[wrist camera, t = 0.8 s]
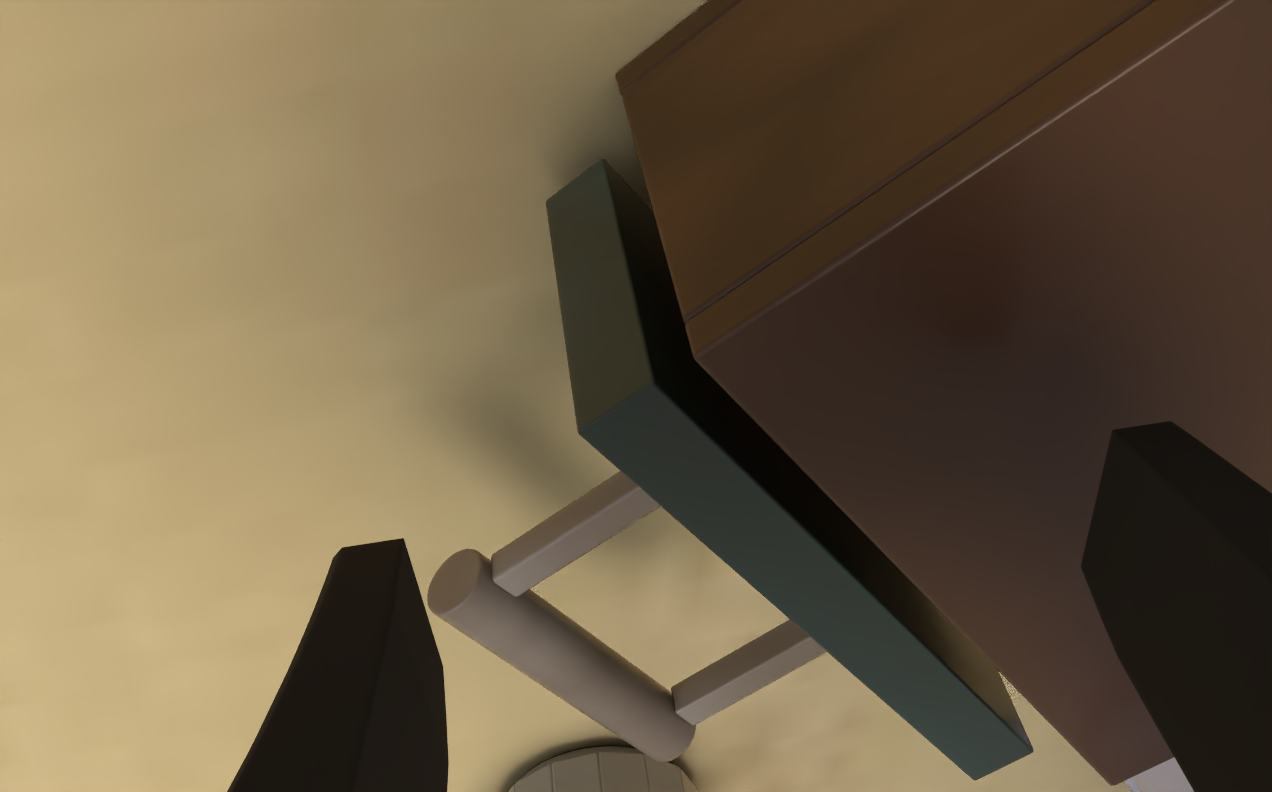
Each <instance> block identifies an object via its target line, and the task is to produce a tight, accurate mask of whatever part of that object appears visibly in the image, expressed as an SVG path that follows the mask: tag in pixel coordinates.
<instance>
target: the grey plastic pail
mask: <svg viewBox="0 0 1272 792" xmlns="http://www.w3.org/2000/svg"><path fill="white" fill-rule="evenodd" d="M508 792H698V790H697V788H696V787H695V786H694V784H693V783H692V782H691V781H690V779H689V778H688V777H687V776H686V775H685V773H684V772H683V771H682V770H681V768H679V767H678V766H676V765H674V764H671V763H668V762H658V761H655V760H653V759H651V758H650V757H648V756H647V755H645V754H644V753H642V752H641V751H639V750H638V749H634V748H628V747H615V746H605V747H592V748H586V749H580V750H576V751H571V752H568V753H565V754H561V755H559V756H556V757H554V758H551V759H549V760H547V761H545V762H543V763H541V764H539V765H538V766H536V767H534V768H533V769H531V770H530V771H529V772H528V773H526V774H525V775H524V776H523V777H522V778H521V779H520V780H519V781H518V782H516V783H515V784H514V785H513V786H512V787H511V789H510V790H509V791H508Z"/></svg>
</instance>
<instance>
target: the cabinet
mask: <svg viewBox="0 0 1272 792" xmlns="http://www.w3.org/2000/svg"><path fill="white" fill-rule="evenodd" d="M616 79H617V83H618V86H619V90H620V93H621V95H622V99H623V102H624V106H625V109H626V113H627V117H628V120H629V124H630V128H631V131H632V135H633V139H634V142H635V146H636V150H637V153H638V157H639V160H640V164H641V168H642V171H643V175H644V179H645V182H646V186H647V190H648V193H649V197H650V201H651V204H652V208H653V211H654V215H655V219H656V222H657V226H658V230H659V233H660V237H661V241H662V244H663V248H664V252H665V255H666V259H667V262H668V266H669V270H670V273H671V277H672V281H673V284H674V288H675V292H676V295H677V299H678V303H679V306H680V310H681V313H682V317H683V321H684V323H685V324H686V325H685V328H686V332H687V335H688V339H689V343H690V346H691V350H692V353H693V357H694V359H695V360H696V361H697V362H698V363H699V365H700V366H701V367H702V368H703V369H704V370H705V371H706V372H707V373H708V374H709V375H710V376H711V377H712V378H713V379H714V380H715V381H716V382H717V383H718V384H719V385H720V386H721V387H722V388H723V389H724V390H725V391H726V392H727V393H728V394H729V395H730V396H731V397H732V398H733V399H734V400H735V401H736V402H737V403H738V404H739V405H740V406H741V408H742V409H743V410H744V411H745V412H746V413H747V414H748V415H749V416H750V417H751V418H752V419H753V420H754V421H755V422H756V423H757V424H758V425H759V426H760V427H761V428H762V429H763V430H764V431H765V432H766V433H767V434H768V435H769V436H770V437H771V438H772V439H773V440H774V441H775V442H776V443H777V444H778V445H779V446H780V447H781V448H782V450H783V451H784V452H785V453H786V454H787V455H788V456H789V457H790V458H791V459H792V460H793V461H794V462H795V463H796V464H797V465H798V466H799V467H800V468H801V469H802V470H803V471H804V472H805V473H806V474H807V475H808V476H809V477H810V478H811V479H812V480H813V481H814V482H815V483H816V484H817V485H818V486H819V487H820V488H821V489H822V490H823V491H824V493H825V494H826V495H827V496H828V497H829V498H830V499H831V500H832V501H833V502H834V503H835V504H836V505H837V506H838V507H839V508H840V509H841V510H842V511H843V512H844V513H845V514H846V515H847V516H848V517H849V518H850V519H851V520H852V521H853V522H854V523H855V524H856V525H857V526H858V527H859V528H860V529H861V530H862V531H863V532H864V533H865V535H866V536H867V537H868V538H869V539H870V540H871V541H872V542H873V543H874V544H875V545H876V546H877V547H878V548H879V549H880V550H881V551H882V552H883V553H884V554H885V555H886V556H887V557H888V558H889V559H890V560H891V561H892V562H893V563H894V564H895V565H896V566H897V567H898V568H899V569H900V570H901V571H902V572H903V573H904V574H905V575H906V577H907V578H908V579H909V580H910V581H911V582H912V583H913V584H914V585H915V586H916V587H917V588H918V589H919V590H920V591H921V592H922V593H923V594H924V595H925V596H926V597H927V598H928V599H929V600H930V601H931V602H932V603H933V604H934V605H935V606H936V607H937V608H938V609H939V610H940V611H941V612H942V613H943V614H944V615H945V616H946V617H947V618H948V620H949V621H950V622H951V623H952V624H953V625H954V626H955V627H956V628H957V629H958V630H959V631H960V632H961V633H962V634H963V635H964V636H965V637H966V638H967V639H968V640H969V641H970V642H971V643H972V644H973V645H974V646H975V647H976V648H977V649H978V650H979V651H980V652H981V653H982V654H983V655H984V656H985V657H986V658H987V659H988V660H989V662H990V663H991V664H992V665H993V666H994V667H995V668H996V669H997V670H998V671H999V672H1000V673H1001V674H1002V675H1003V676H1004V677H1005V678H1006V679H1007V680H1008V681H1009V682H1010V683H1011V684H1012V685H1013V686H1014V687H1015V688H1016V689H1017V690H1018V691H1019V692H1020V693H1021V694H1022V695H1023V696H1024V697H1025V698H1026V699H1027V700H1028V701H1029V702H1030V703H1031V705H1032V706H1033V707H1034V708H1035V709H1036V710H1037V711H1038V712H1039V713H1040V714H1041V715H1042V716H1043V717H1044V718H1045V719H1046V720H1047V721H1048V722H1049V723H1050V724H1051V725H1052V726H1053V727H1054V728H1055V729H1056V730H1057V731H1058V732H1059V733H1060V734H1061V735H1062V736H1063V737H1064V738H1065V739H1066V740H1067V741H1068V742H1069V743H1070V744H1071V745H1072V747H1073V748H1074V749H1075V750H1076V751H1077V752H1078V753H1079V754H1080V755H1081V756H1082V757H1083V758H1084V759H1085V760H1086V761H1087V762H1088V763H1089V764H1090V765H1091V766H1092V767H1093V768H1094V769H1095V770H1096V771H1097V772H1098V773H1099V774H1100V775H1101V776H1102V777H1103V778H1104V779H1105V780H1106V781H1107V782H1108V783H1109V784H1110V785H1112V786H1113V785H1117V784H1119V783H1121V782H1123V781H1125V780H1127V779H1130V778H1132V777H1134V776H1136V775H1138V774H1140V773H1142V772H1144V771H1146V770H1149V769H1151V768H1153V767H1155V766H1157V765H1159V764H1161V763H1163V762H1166V761H1168V760H1170V759H1172V758H1174V756H1173V754H1172V752H1171V751H1170V749H1169V747H1168V745H1167V744H1166V742H1165V740H1164V738H1163V737H1162V735H1161V733H1160V731H1159V730H1158V728H1157V726H1156V724H1155V723H1154V721H1153V719H1152V717H1151V716H1150V714H1149V712H1148V710H1147V708H1146V707H1145V705H1144V703H1143V701H1142V700H1141V698H1140V696H1139V694H1138V693H1137V691H1136V689H1135V687H1134V685H1133V684H1132V682H1131V680H1130V678H1129V677H1128V675H1127V673H1126V671H1125V669H1124V667H1123V666H1122V664H1121V662H1120V660H1119V658H1118V656H1117V655H1116V652H1115V650H1114V648H1113V645H1112V643H1111V640H1110V638H1109V636H1108V633H1107V631H1106V629H1105V626H1104V624H1103V622H1102V619H1101V617H1100V615H1099V612H1098V610H1097V607H1096V604H1095V602H1094V599H1093V597H1092V594H1091V592H1090V589H1089V586H1088V584H1087V581H1086V579H1085V576H1084V574H1083V571H1082V569H1081V562H1082V558H1083V554H1084V549H1085V545H1086V541H1087V537H1088V532H1089V528H1090V524H1091V519H1092V515H1093V511H1094V506H1095V502H1096V498H1097V494H1098V489H1099V485H1100V481H1101V476H1102V472H1103V468H1104V463H1105V459H1106V455H1107V450H1108V446H1109V442H1110V438H1111V433H1112V430H1115V429H1121V428H1128V427H1134V426H1141V425H1147V424H1154V423H1160V422H1167V421H1172V422H1173V423H1175V424H1176V425H1177V426H1179V427H1180V428H1182V429H1183V430H1185V431H1186V432H1188V433H1189V434H1190V435H1192V436H1193V437H1195V438H1196V439H1197V440H1199V441H1200V442H1202V443H1203V444H1204V445H1206V446H1207V447H1209V448H1210V449H1211V450H1213V451H1214V452H1215V453H1217V454H1218V455H1220V456H1221V457H1222V458H1224V459H1225V460H1226V461H1228V462H1229V463H1231V464H1232V465H1233V466H1235V467H1236V468H1237V469H1239V470H1240V471H1241V472H1243V473H1244V474H1246V475H1247V476H1248V477H1250V478H1251V479H1252V480H1254V481H1255V482H1257V483H1258V484H1259V485H1261V486H1262V487H1263V488H1265V489H1266V490H1268V491H1269V492H1270V493H1272V0H710V1H709V2H708V3H706V4H705V5H704V6H702V7H701V8H700V9H699V10H697V11H696V12H695V13H693V14H692V15H691V16H690V17H688V18H687V19H686V20H685V21H683V22H682V23H681V24H679V25H678V26H677V27H676V28H674V29H673V30H672V31H670V32H669V33H668V34H667V35H665V36H664V37H663V38H661V39H660V40H659V41H658V42H656V43H655V44H654V45H653V46H651V47H650V48H649V49H647V50H646V51H645V52H644V53H642V54H641V55H640V56H638V57H637V58H636V59H635V60H633V61H632V62H631V63H630V64H628V65H627V66H626V67H624V68H623V69H622V70H621V71H619V72H618V73H617V74H616Z"/></svg>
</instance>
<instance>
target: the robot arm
mask: <svg viewBox="0 0 1272 792" xmlns="http://www.w3.org/2000/svg"><path fill="white" fill-rule="evenodd" d="M1081 569H1082V571H1083V574H1084V576H1085V579H1086V581H1087V584H1088V586H1089V589H1090V592H1091V594H1092V597H1093V599H1094V602H1095V604H1096V607H1097V610H1098V612H1099V615H1100V617H1101V619H1102V622H1103V624H1104V626H1105V629H1106V631H1107V633H1108V636H1109V638H1110V640H1111V643H1112V645H1113V648H1114V650H1115V652H1116V655H1117V656H1118V658H1119V660H1120V662H1121V664H1122V666H1123V667H1124V669H1125V671H1126V673H1127V675H1128V677H1129V678H1130V680H1131V682H1132V684H1133V685H1134V687H1135V689H1136V691H1137V693H1138V694H1139V696H1140V698H1141V700H1142V701H1143V703H1144V705H1145V707H1146V708H1147V710H1148V712H1149V714H1150V716H1151V717H1152V719H1153V721H1154V723H1155V724H1156V726H1157V728H1158V730H1159V731H1160V733H1161V735H1162V737H1163V738H1164V740H1165V742H1166V744H1167V745H1168V747H1169V749H1170V751H1171V752H1172V754H1173V756H1174V758H1172V759H1170V760H1168V761H1166V762H1163V763H1161V764H1159V765H1157V766H1155V767H1153V768H1151V769H1149V770H1146V771H1144V772H1142V773H1140V774H1138V775H1136V776H1134V777H1132V778H1130V779H1127V780H1125V781H1123V782H1124V783H1125V784H1126V785H1127V786H1128V787H1129V788H1130V789H1131V790H1132V791H1133V792H1272V493H1270V492H1269V491H1268V490H1266V489H1265V488H1263V487H1262V486H1261V485H1259V484H1258V483H1257V482H1255V481H1254V480H1252V479H1251V478H1250V477H1248V476H1247V475H1246V474H1244V473H1243V472H1241V471H1240V470H1239V469H1237V468H1236V467H1235V466H1233V465H1232V464H1231V463H1229V462H1228V461H1226V460H1225V459H1224V458H1222V457H1221V456H1220V455H1218V454H1217V453H1215V452H1214V451H1213V450H1211V449H1210V448H1209V447H1207V446H1206V445H1204V444H1203V443H1202V442H1200V441H1199V440H1197V439H1196V438H1195V437H1193V436H1192V435H1190V434H1189V433H1188V432H1186V431H1185V430H1183V429H1182V428H1180V427H1179V426H1177V425H1176V424H1175V423H1173V422H1172V421H1167V422H1160V423H1154V424H1147V425H1141V426H1134V427H1128V428H1121V429H1115V430H1112V433H1111V438H1110V442H1109V446H1108V450H1107V455H1106V459H1105V463H1104V468H1103V472H1102V476H1101V481H1100V485H1099V489H1098V494H1097V498H1096V502H1095V506H1094V511H1093V515H1092V519H1091V524H1090V528H1089V532H1088V537H1087V541H1086V545H1085V549H1084V554H1083V558H1082V562H1081ZM447 782H448V744H447V724H446V706H445V690H444V674H443V665H442V662H441V659H440V655H439V652H438V649H437V646H436V642H435V639H434V636H433V633H432V629H431V626H430V623H429V620H428V616H427V613H426V610H425V607H424V603H423V600H422V597H421V594H420V590H419V587H418V584H417V580H416V577H415V574H414V571H413V567H412V564H411V561H410V558H409V554H408V551H407V548H406V545H405V541H404V538H402V539H396V540H389V541H382V542H376V543H369V544H363V545H356V546H350V547H343V548H341V550H340V551H339V552H338V553H337V554H336V555H335V556H334V557H333V560H332V563H331V566H330V569H329V571H328V574H327V577H326V580H325V582H324V585H323V588H322V590H321V593H320V595H319V598H318V601H317V603H316V606H315V608H314V611H313V613H312V616H311V618H310V621H309V623H308V625H307V628H306V630H305V633H304V635H303V637H302V639H301V642H300V644H299V646H298V649H297V651H296V653H295V656H294V658H293V660H292V662H291V665H290V667H289V669H288V671H287V674H286V676H285V678H284V680H283V682H282V684H281V686H280V688H279V690H278V692H277V695H276V697H275V699H274V701H273V703H272V705H271V707H270V709H269V711H268V713H267V716H266V718H265V720H264V722H263V724H262V726H261V728H260V730H259V732H258V734H257V736H256V738H255V740H254V742H253V744H252V746H251V748H250V750H249V752H248V754H247V756H246V758H245V760H244V762H243V763H242V765H241V767H240V769H239V771H238V773H237V775H236V776H235V778H234V780H233V782H232V784H231V786H230V787H229V789H228V791H227V792H447Z"/></svg>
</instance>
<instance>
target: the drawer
mask: <svg viewBox="0 0 1272 792" xmlns="http://www.w3.org/2000/svg"><path fill="white" fill-rule="evenodd" d="M546 207H547V215H548V222H549V229H550V236H551V243H552V250H553V258H554V265H555V272H556V279H557V286H558V294H559V301H560V308H561V315H562V322H563V330H564V337H565V344H566V351H567V358H568V365H569V373H570V380H571V387H572V394H573V401H574V409H575V416H576V423H577V430H578V433H579V435H581V436H582V437H583V438H584V439H585V440H586V441H587V442H589V443H590V444H591V445H592V446H593V447H594V448H595V449H597V450H598V451H599V452H600V453H601V454H602V455H603V456H605V457H606V458H607V459H608V460H609V461H610V462H611V463H612V464H614V465H615V466H616V467H617V468H618V469H619V470H620V472H618V473H617V474H615V475H614V476H612V477H611V478H609V479H608V480H606V481H605V482H603V483H601V484H600V485H598V486H597V487H595V488H594V489H592V490H591V491H589V492H588V493H586V494H585V495H583V496H582V497H580V498H578V499H577V500H575V501H574V502H572V503H571V504H569V505H568V506H566V507H565V508H563V509H562V510H560V511H558V512H557V513H555V514H554V515H552V516H551V517H549V518H548V519H546V520H545V521H543V522H542V523H540V524H539V525H537V526H535V527H534V528H532V529H531V530H529V531H528V532H526V533H525V534H523V535H522V536H520V537H519V538H517V539H515V540H514V541H512V542H511V543H509V544H508V545H506V546H505V547H503V548H502V549H500V550H499V551H497V552H496V553H494V554H493V555H492V557H491V560H489V559H488V558H486V557H485V556H484V555H482V554H481V553H480V552H478V551H476V550H473V549H464V550H461V551H459V552H457V553H455V554H453V555H452V556H451V557H449V558H448V559H447V560H446V561H445V562H444V563H443V564H442V565H441V566H440V568H439V569H438V570H437V572H436V574H435V575H434V577H433V579H432V581H431V583H430V586H429V590H428V595H427V602H428V606H429V608H430V610H431V611H432V613H434V614H435V615H436V616H438V617H439V618H441V619H442V620H444V621H445V622H447V623H448V624H450V625H451V626H453V627H454V628H456V629H457V630H459V631H460V632H462V633H463V634H465V635H466V636H468V637H469V638H471V639H472V640H474V641H476V642H477V643H479V644H480V645H482V646H483V647H485V648H486V649H488V650H489V651H491V652H492V653H494V654H495V655H497V656H498V657H500V658H501V659H503V660H504V661H506V662H507V663H509V664H510V665H512V666H513V667H515V668H516V669H518V670H519V671H521V672H522V673H524V674H525V675H527V676H528V677H530V678H531V679H533V680H534V681H536V682H537V683H539V684H540V685H542V686H543V687H545V688H546V689H548V690H549V691H551V692H552V693H554V694H555V695H557V696H558V697H560V698H561V699H563V700H564V701H566V702H567V703H569V704H570V705H572V706H573V707H575V708H576V709H578V710H579V711H581V712H582V713H584V714H585V715H587V716H588V717H590V718H591V719H593V720H594V721H596V722H597V723H599V724H600V725H602V726H603V727H605V728H606V729H608V730H609V731H611V732H612V733H614V734H615V735H617V736H618V737H620V738H621V739H623V740H624V741H626V742H627V743H629V744H630V745H632V746H633V747H635V748H636V749H638V750H639V751H641V752H642V753H644V754H645V755H647V756H648V757H650V758H651V759H653V760H655V761H658V762H667V761H671V760H674V759H676V758H677V757H679V756H680V755H681V754H682V753H683V752H685V750H686V749H687V748H688V746H689V745H690V743H691V742H692V739H693V737H694V734H695V730H696V724H698V723H700V722H701V721H703V720H705V719H707V718H709V717H710V716H712V715H714V714H716V713H718V712H719V711H721V710H723V709H725V708H727V707H728V706H730V705H732V704H734V703H736V702H737V701H739V700H741V699H743V698H745V697H746V696H748V695H750V694H752V693H754V692H755V691H757V690H759V689H761V688H763V687H764V686H766V685H768V684H770V683H772V682H773V681H775V680H777V679H779V678H781V677H782V676H784V675H786V674H788V673H790V672H792V671H793V670H795V669H797V668H799V667H801V666H802V665H804V664H806V663H808V662H810V661H811V660H813V659H815V658H817V657H819V656H820V655H822V654H824V653H826V652H828V653H829V654H830V655H832V656H833V657H834V658H835V659H836V660H837V661H838V662H840V663H841V664H842V665H843V666H844V667H845V668H846V669H848V670H849V671H850V672H851V673H852V674H853V675H854V676H856V677H857V678H858V679H859V680H860V681H861V682H862V683H864V684H865V685H866V686H867V687H868V688H869V689H870V690H872V691H873V692H874V693H875V694H876V695H877V696H878V697H879V698H881V699H882V700H883V701H884V702H885V703H886V704H887V705H889V706H890V707H891V708H892V709H893V710H894V711H895V712H897V713H898V714H899V715H900V716H901V717H902V718H903V719H905V720H906V721H907V722H908V723H909V724H910V725H911V726H913V727H914V728H915V729H916V730H917V731H918V732H919V733H921V734H922V735H923V736H924V737H925V738H926V739H927V740H929V741H930V742H931V743H932V744H933V745H934V746H935V747H937V748H938V749H939V750H940V751H941V752H942V753H943V754H945V755H946V756H947V757H948V758H949V759H950V760H951V761H953V762H954V763H955V764H956V765H957V766H958V767H959V768H961V769H962V770H963V771H964V772H965V773H966V774H967V775H968V776H970V777H971V778H972V779H973V780H978V779H980V778H982V777H984V776H986V775H988V774H990V773H992V772H994V771H996V770H998V769H1000V768H1002V767H1004V766H1006V765H1008V764H1010V763H1013V762H1015V761H1017V760H1019V759H1021V758H1023V757H1025V756H1027V755H1029V754H1031V753H1032V752H1033V747H1032V745H1031V743H1030V741H1029V738H1028V736H1027V734H1026V732H1025V730H1024V727H1023V725H1022V723H1021V721H1020V718H1019V716H1018V714H1017V712H1016V710H1015V707H1014V705H1013V703H1012V701H1011V698H1010V696H1009V694H1008V692H1007V690H1006V687H1005V685H1004V683H1003V681H1002V679H1001V676H1000V674H999V672H998V670H997V669H996V668H995V667H994V666H993V665H992V664H991V663H990V662H989V660H988V659H987V658H986V657H985V656H984V655H983V654H982V653H981V652H980V651H979V650H978V649H977V648H976V647H975V646H974V645H973V644H972V643H971V642H970V641H969V640H968V639H967V638H966V637H965V636H964V635H963V634H962V633H961V632H960V631H959V630H958V629H957V628H956V627H955V626H954V625H953V624H952V623H951V622H950V621H949V620H948V618H947V617H946V616H945V615H944V614H943V613H942V612H941V611H940V610H939V609H938V608H937V607H936V606H935V605H934V604H933V603H932V602H931V601H930V600H929V599H928V598H927V597H926V596H925V595H924V594H923V593H922V592H921V591H920V590H919V589H918V588H917V587H916V586H915V585H914V584H913V583H912V582H911V581H910V580H909V579H908V578H907V577H906V575H905V574H904V573H903V572H902V571H901V570H900V569H899V568H898V567H897V566H896V565H895V564H894V563H893V562H892V561H891V560H890V559H889V558H888V557H887V556H886V555H885V554H884V553H883V552H882V551H881V550H880V549H879V548H878V547H877V546H876V545H875V544H874V543H873V542H872V541H871V540H870V539H869V538H868V537H867V536H866V535H865V533H864V532H863V531H862V530H861V529H860V528H859V527H858V526H857V525H856V524H855V523H854V522H853V521H852V520H851V519H850V518H849V517H848V516H847V515H846V514H845V513H844V512H843V511H842V510H841V509H840V508H839V507H838V506H837V505H836V504H835V503H834V502H833V501H832V500H831V499H830V498H829V497H828V496H827V495H826V494H825V493H824V491H823V490H822V489H821V488H820V487H819V486H818V485H817V484H816V483H815V482H814V481H813V480H812V479H811V478H810V477H809V476H808V475H807V474H806V473H805V472H804V471H803V470H802V469H801V468H800V467H799V466H798V465H797V464H796V463H795V462H794V461H793V460H792V459H791V458H790V457H789V456H788V455H787V454H786V453H785V452H784V451H783V450H782V448H781V447H780V446H779V445H778V444H777V443H776V442H775V441H774V440H773V439H772V438H771V437H770V436H769V435H768V434H767V433H766V432H765V431H764V430H763V429H762V428H761V427H760V426H759V425H758V424H757V423H756V422H755V421H754V420H753V419H752V418H751V417H750V416H749V415H748V414H747V413H746V412H745V411H744V410H743V409H742V408H741V406H740V405H739V404H738V403H737V402H736V401H735V400H734V399H733V398H732V397H731V396H730V395H729V394H728V393H727V392H726V391H725V390H724V389H723V388H722V387H721V386H720V385H719V384H718V383H717V382H716V381H715V380H714V379H713V378H712V377H711V376H710V375H709V374H708V373H707V372H706V371H705V370H704V369H703V368H702V367H701V366H700V365H699V363H698V362H697V361H696V360H695V359H694V357H693V353H692V350H691V346H690V343H689V339H688V335H687V332H686V328H685V325H686V324H685V323H684V321H683V317H682V313H681V310H680V306H679V303H678V299H677V295H676V292H675V288H674V284H673V281H672V277H671V273H670V270H669V266H668V262H667V259H666V255H665V252H664V248H663V244H662V241H661V237H660V233H659V230H658V226H657V222H656V219H655V215H654V213H653V212H652V211H651V210H650V209H649V208H648V206H647V205H646V204H645V203H644V202H643V201H642V200H641V199H640V198H639V196H638V195H637V194H636V193H635V192H634V191H633V190H632V189H631V188H630V187H629V185H628V184H627V183H626V182H625V181H624V180H623V179H622V178H621V177H620V175H619V174H618V173H617V172H616V171H615V170H614V169H613V168H612V167H611V165H610V164H609V163H608V162H607V161H606V160H605V159H600V160H599V161H598V162H596V163H595V164H594V165H593V166H591V167H590V168H589V169H587V170H586V171H585V172H583V173H582V174H581V175H579V176H578V177H577V178H575V179H574V180H573V181H571V182H570V183H569V184H567V185H566V186H565V187H564V188H562V189H561V190H560V191H558V192H557V193H556V194H554V195H553V196H552V197H550V198H549V199H548V200H547V201H546ZM660 506H662V507H663V508H664V509H665V510H666V511H667V512H668V513H670V514H671V515H672V516H673V517H674V518H675V519H676V520H678V521H679V522H680V523H681V524H682V525H683V526H684V527H686V528H687V529H688V530H689V531H690V532H691V533H692V534H694V535H695V536H696V537H697V538H698V539H699V540H700V541H701V542H703V543H704V544H705V545H706V546H707V547H708V548H709V549H711V550H712V551H713V552H714V553H715V554H716V555H717V556H719V557H720V558H721V559H722V560H723V561H724V562H725V563H727V564H728V565H729V566H730V567H731V568H732V569H733V570H735V571H736V572H737V573H738V574H739V575H740V576H741V577H743V578H744V579H745V580H746V581H747V582H748V583H749V584H751V585H752V586H753V587H754V588H755V589H756V590H757V591H759V592H760V593H761V594H762V595H763V596H764V597H765V598H767V599H768V600H769V601H770V602H771V603H772V604H773V605H775V606H776V607H777V608H778V609H779V610H780V611H781V612H783V613H784V614H785V615H786V616H787V617H788V618H789V619H790V620H788V621H786V622H784V623H783V624H781V625H779V626H777V627H776V628H774V629H772V630H770V631H769V632H767V633H765V634H763V635H762V636H760V637H758V638H756V639H755V640H753V641H751V642H749V643H748V644H746V645H744V646H742V647H741V648H739V649H737V650H735V651H734V652H732V653H730V654H728V655H727V656H725V657H723V658H721V659H720V660H718V661H716V662H714V663H713V664H711V665H709V666H707V667H706V668H704V669H702V670H700V671H699V672H697V673H695V674H693V675H692V676H690V677H688V678H686V679H685V680H683V681H681V682H679V683H678V684H676V685H674V686H672V688H671V691H672V693H671V692H670V691H669V690H667V689H666V688H665V687H663V686H662V685H660V684H659V683H658V682H656V681H655V680H654V679H652V678H651V677H649V676H648V675H647V674H645V673H644V672H643V671H641V670H640V669H638V668H637V667H636V666H634V665H633V664H632V663H630V662H629V661H628V660H626V659H625V658H623V657H622V656H621V655H619V654H618V653H617V652H615V651H614V650H612V649H611V648H610V647H608V646H607V645H606V644H604V643H603V642H602V641H600V640H599V639H597V638H596V637H595V636H593V635H592V634H591V633H589V632H588V631H586V630H585V629H584V628H582V627H581V626H580V625H578V624H577V623H576V622H574V621H573V620H571V619H570V618H569V617H567V616H566V615H565V614H563V613H562V612H560V611H559V610H558V609H556V608H555V607H554V606H552V605H551V604H549V603H548V602H547V601H545V600H544V599H543V598H541V597H540V596H539V595H537V594H536V593H534V592H533V591H532V590H530V588H532V587H533V586H535V585H536V584H538V583H540V582H541V581H543V580H544V579H546V578H548V577H549V576H551V575H552V574H554V573H555V572H557V571H559V570H560V569H562V568H563V567H565V566H567V565H568V564H570V563H571V562H573V561H574V560H576V559H578V558H579V557H581V556H582V555H584V554H586V553H587V552H589V551H590V550H592V549H593V548H595V547H597V546H598V545H600V544H601V543H603V542H605V541H606V540H608V539H609V538H611V537H612V536H614V535H616V534H617V533H619V532H620V531H622V530H624V529H625V528H627V527H628V526H630V525H631V524H633V523H635V522H636V521H638V520H639V519H641V518H643V517H644V516H646V515H647V514H649V513H650V512H652V511H654V510H655V509H657V508H658V507H660Z"/></svg>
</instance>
